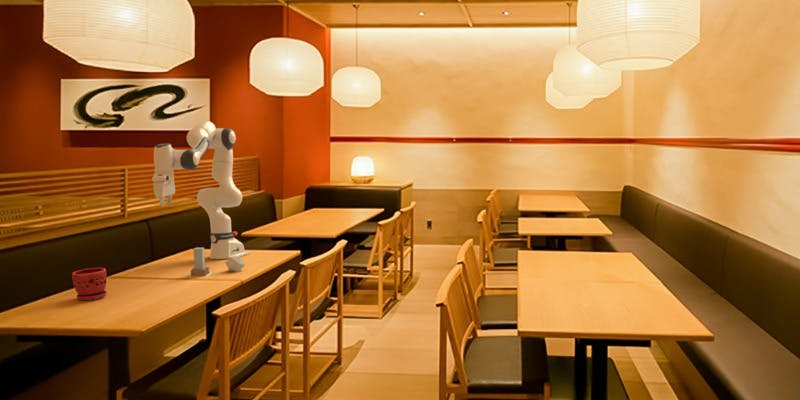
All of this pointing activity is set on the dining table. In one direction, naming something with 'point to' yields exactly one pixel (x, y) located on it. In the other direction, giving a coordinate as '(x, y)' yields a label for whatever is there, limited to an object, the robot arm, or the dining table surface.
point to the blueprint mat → (200, 276)
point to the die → (235, 263)
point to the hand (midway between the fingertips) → (166, 205)
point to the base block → (200, 272)
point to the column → (199, 258)
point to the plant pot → (90, 283)
